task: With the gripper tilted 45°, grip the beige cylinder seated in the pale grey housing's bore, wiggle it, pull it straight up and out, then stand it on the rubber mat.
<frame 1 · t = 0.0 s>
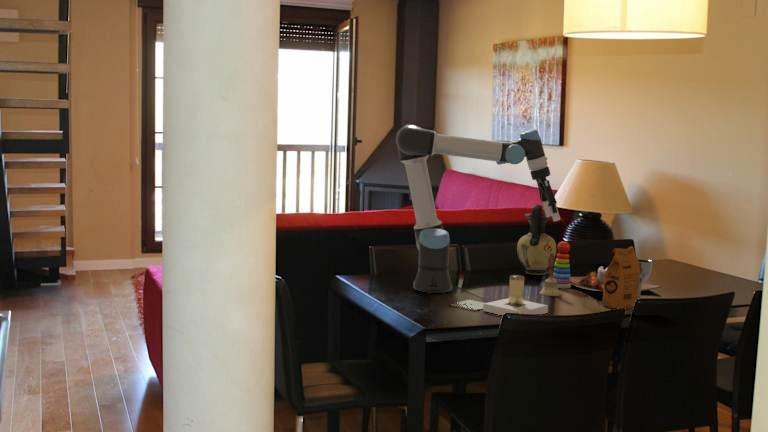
hand: (553, 218, 353), 28 cm above the table, tool tilted 20°, fingers open, 13 cm apart
wine glass: (638, 299, 337), on the table
housing: (515, 312, 307), on the table
coffee package: (619, 306, 323), on the table
beige cylinder: (516, 294, 306), in the housing
hand bell: (550, 294, 341), on the table
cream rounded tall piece: (535, 273, 386), on the table
mat: (472, 306, 315), on the table
stacking toy: (560, 287, 356), on the table
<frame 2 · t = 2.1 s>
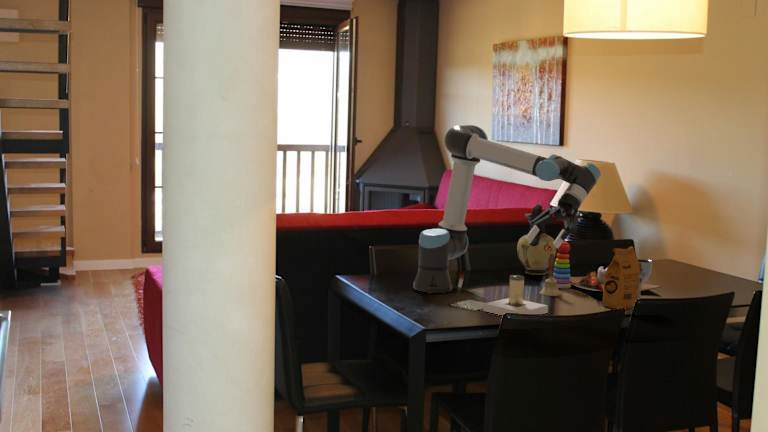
hand: (541, 243, 311), 24 cm above the table, tool tilted 45°, fingers open, 13 cm apart
nothing on the table moved.
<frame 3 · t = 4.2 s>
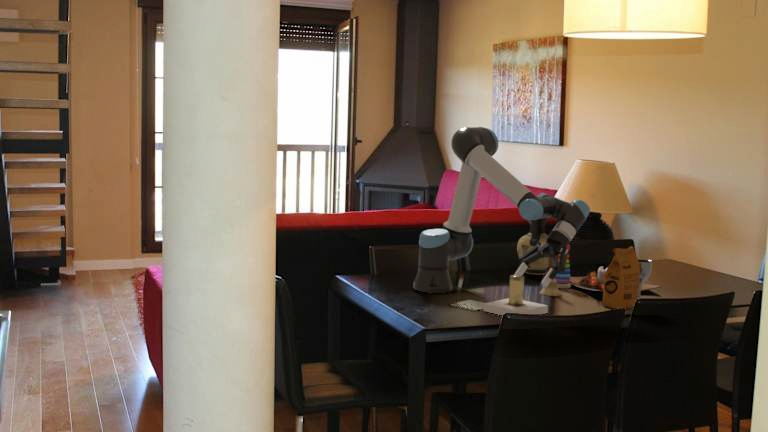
hand: (529, 281, 307), 11 cm above the table, tool tilted 45°, fingers open, 13 cm apart
nothing on the table moved.
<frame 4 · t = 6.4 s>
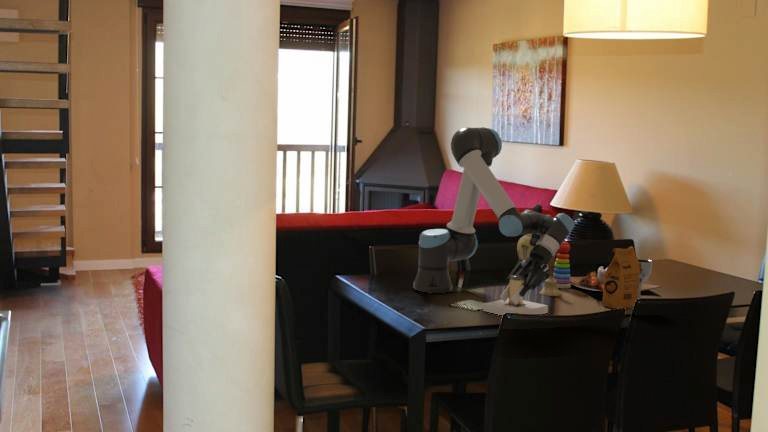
hand: (508, 300, 304), 5 cm above the table, tool tilted 45°, fingers closed on beige cylinder, 5 cm apart
beige cylinder: (516, 294, 306), in the housing, touching gripper
everything else where it was.
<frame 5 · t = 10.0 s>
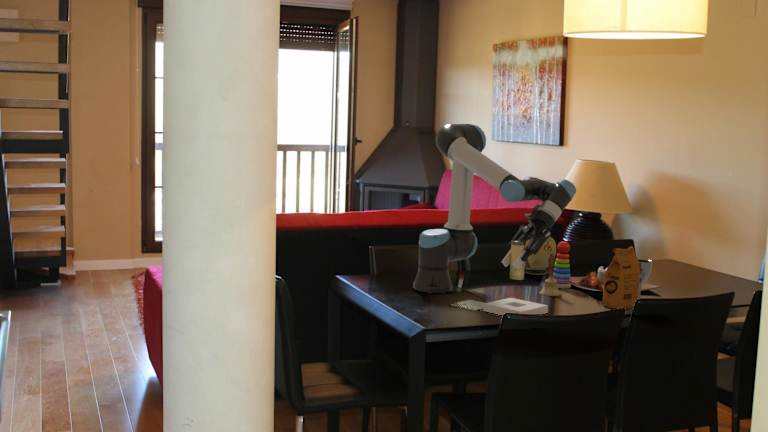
hand: (509, 265, 303), 17 cm above the table, tool tilted 45°, fingers closed on beige cylinder, 5 cm apart
beige cylinder: (517, 260, 305), point 19 cm above the table, touching gripper
everything else where it was.
when the fingers open (7 cm above the table, at t = 13.5 s): beige cylinder drops 1 cm, resting on mat.
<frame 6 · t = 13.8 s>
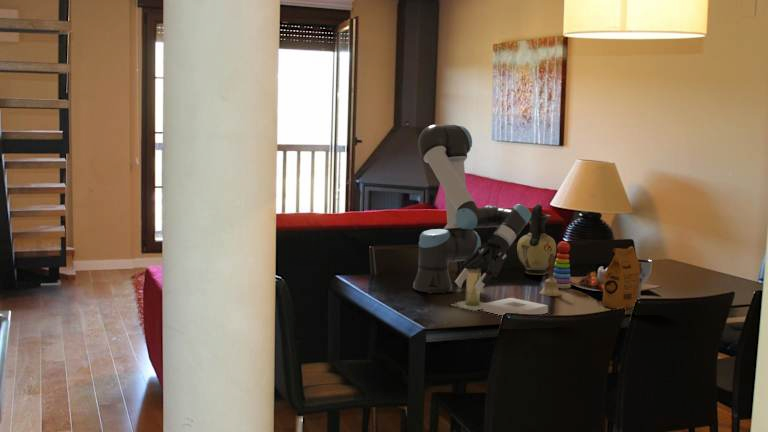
hand: (466, 286, 312), 7 cm above the table, tool tilted 45°, fingers open, 10 cm apart
beige cylinder: (473, 286, 314), on the mat, point 7 cm above the table
everything else where it was.
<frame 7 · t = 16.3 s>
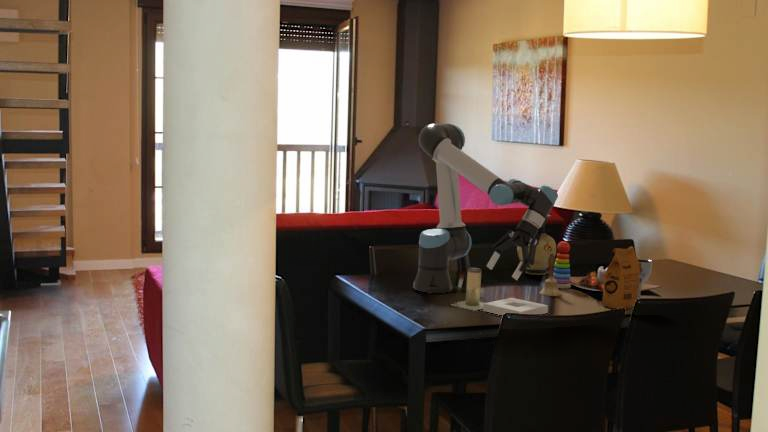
hand: (501, 273, 322), 11 cm above the table, tool tilted 35°, fingers open, 13 cm apart
nothing on the table moved.
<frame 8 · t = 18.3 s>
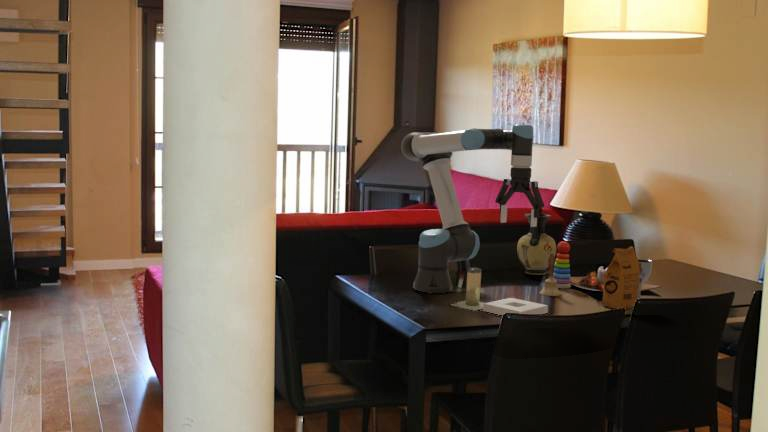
hand: (518, 224, 323), 29 cm above the table, tool pointing down, fingers open, 13 cm apart
nothing on the table moved.
at the end: beige cylinder inside the target area on the mat (0.1 cm from its centre), point 7.2 cm above the mat's base; beige cylinder tilted 2°; the gripper is holding nothing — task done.
